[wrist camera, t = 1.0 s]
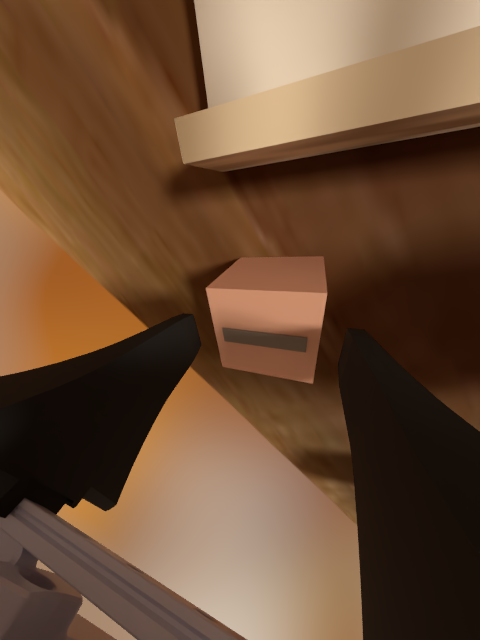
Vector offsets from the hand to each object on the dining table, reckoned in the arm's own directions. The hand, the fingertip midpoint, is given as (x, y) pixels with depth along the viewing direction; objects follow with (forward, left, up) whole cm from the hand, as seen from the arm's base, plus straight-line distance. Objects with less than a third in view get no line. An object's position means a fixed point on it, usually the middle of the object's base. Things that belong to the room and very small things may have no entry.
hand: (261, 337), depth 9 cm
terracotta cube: (0, 0, -5) cm, 5 cm away
